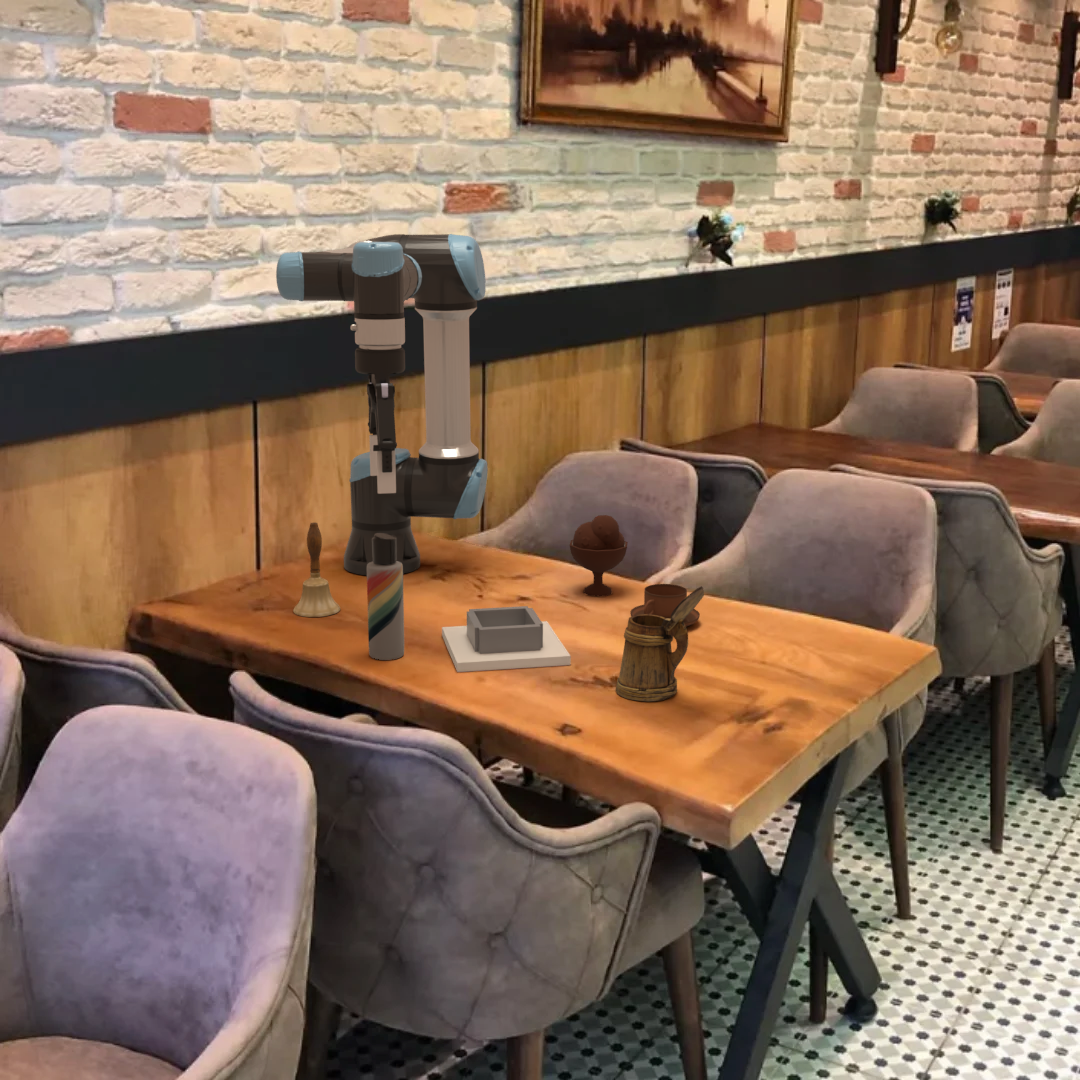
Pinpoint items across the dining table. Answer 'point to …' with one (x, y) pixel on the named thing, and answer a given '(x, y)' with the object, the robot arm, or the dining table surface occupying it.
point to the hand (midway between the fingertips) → (382, 484)
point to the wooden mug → (654, 652)
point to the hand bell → (315, 583)
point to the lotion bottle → (385, 600)
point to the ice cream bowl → (598, 550)
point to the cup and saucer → (664, 602)
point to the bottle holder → (504, 641)
